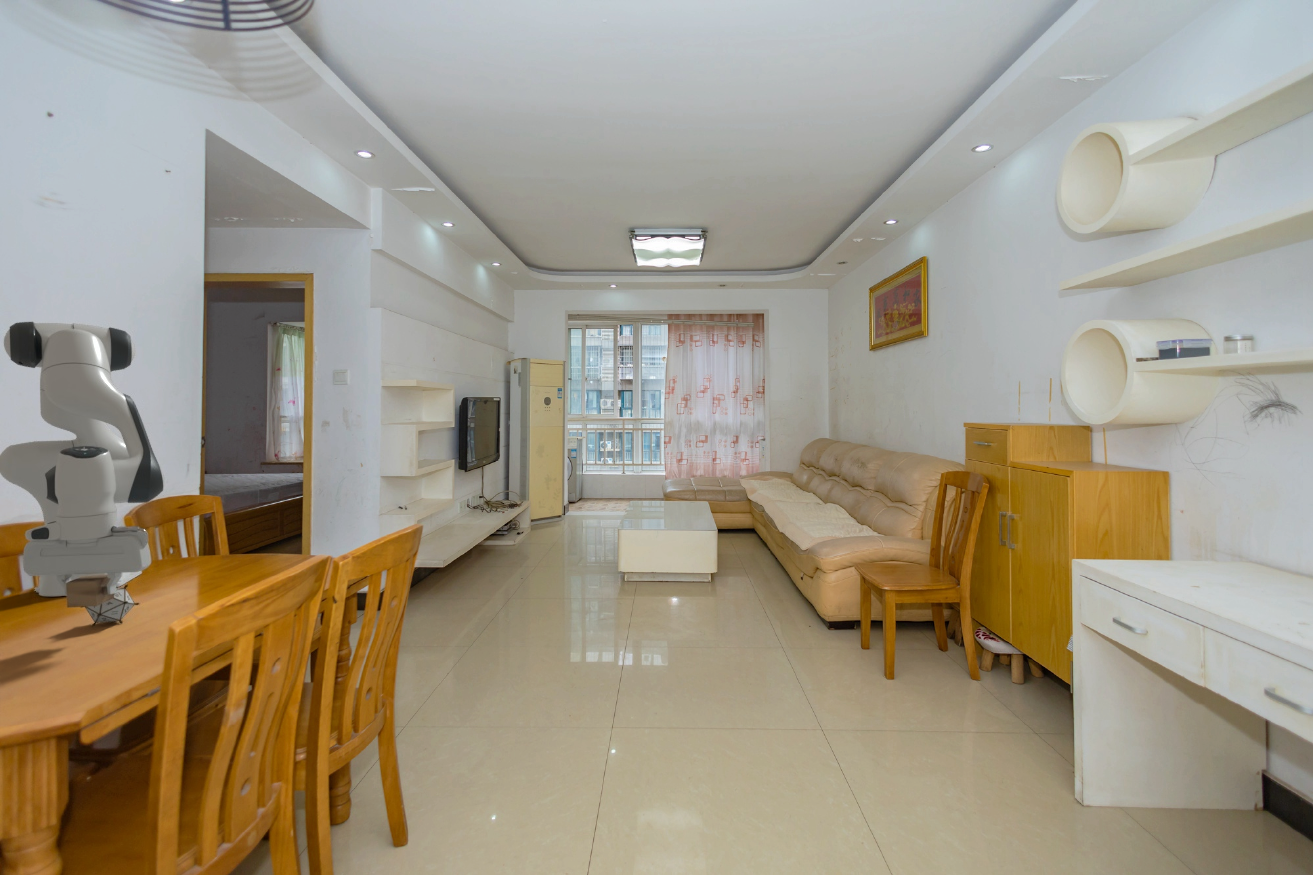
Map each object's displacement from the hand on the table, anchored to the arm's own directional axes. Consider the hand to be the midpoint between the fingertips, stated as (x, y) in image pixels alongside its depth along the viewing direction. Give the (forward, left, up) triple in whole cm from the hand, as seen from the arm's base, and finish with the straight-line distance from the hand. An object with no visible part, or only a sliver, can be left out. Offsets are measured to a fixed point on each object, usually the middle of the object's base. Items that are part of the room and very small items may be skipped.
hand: (90, 594), depth 120 cm
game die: (-9, -3, -9) cm, 14 cm away
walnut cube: (0, 0, -2) cm, 2 cm away
